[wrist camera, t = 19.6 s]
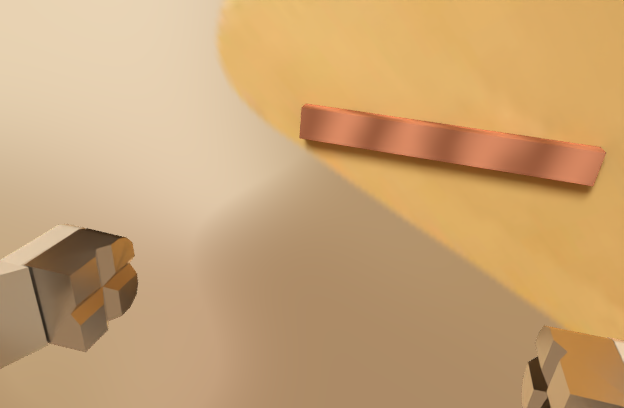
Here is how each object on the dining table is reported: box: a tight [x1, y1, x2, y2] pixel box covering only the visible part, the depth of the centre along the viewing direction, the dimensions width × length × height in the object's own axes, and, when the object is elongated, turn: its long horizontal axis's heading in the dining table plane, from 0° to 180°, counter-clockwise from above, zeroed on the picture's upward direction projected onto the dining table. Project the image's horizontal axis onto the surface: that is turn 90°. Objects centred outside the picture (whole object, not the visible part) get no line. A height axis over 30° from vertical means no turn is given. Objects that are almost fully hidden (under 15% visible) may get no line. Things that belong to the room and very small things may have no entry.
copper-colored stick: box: [300, 104, 606, 186], centre depth 41 cm, size 26×3×2 cm, turn 85°
